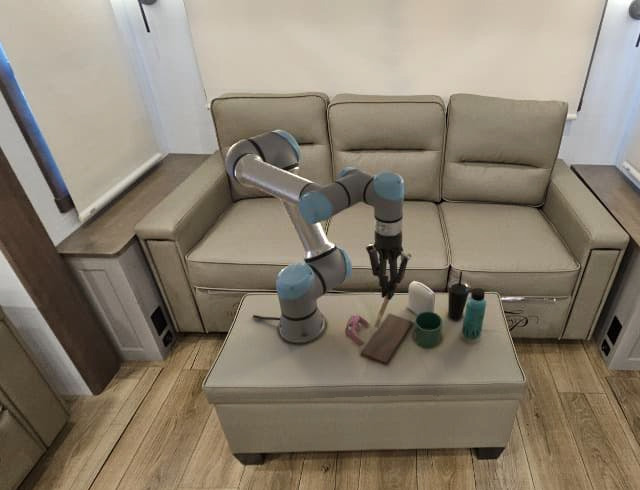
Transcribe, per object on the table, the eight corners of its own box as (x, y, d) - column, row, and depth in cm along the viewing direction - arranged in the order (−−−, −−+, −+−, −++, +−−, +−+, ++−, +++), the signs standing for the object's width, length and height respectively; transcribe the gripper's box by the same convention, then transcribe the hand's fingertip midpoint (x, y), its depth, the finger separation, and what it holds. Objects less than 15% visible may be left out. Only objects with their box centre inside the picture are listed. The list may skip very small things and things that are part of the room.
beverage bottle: (458, 339, 142) (464, 294, 130) (464, 326, 147) (471, 282, 135) (477, 346, 140) (485, 301, 128) (482, 332, 145) (491, 288, 133)
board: (361, 354, 136) (361, 352, 135) (389, 315, 151) (389, 313, 150) (386, 364, 133) (386, 362, 132) (412, 323, 148) (412, 321, 147)
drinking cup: (465, 324, 148) (472, 280, 136) (443, 321, 149) (448, 277, 137) (466, 310, 154) (473, 266, 142) (445, 306, 155) (450, 263, 143)
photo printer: (406, 308, 154) (407, 281, 147) (414, 302, 156) (415, 276, 149) (427, 322, 148) (429, 296, 141) (435, 316, 151) (437, 290, 143)
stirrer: (382, 302, 136) (372, 328, 125) (395, 270, 129) (386, 295, 118) (386, 303, 136) (377, 330, 125) (400, 272, 129) (391, 296, 118)
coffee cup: (409, 341, 141) (410, 325, 136) (420, 324, 148) (421, 308, 143) (434, 351, 138) (436, 334, 133) (444, 332, 144) (446, 316, 140)
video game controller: (359, 325, 148) (349, 311, 145) (370, 323, 147) (360, 308, 143) (350, 346, 141) (340, 331, 137) (362, 344, 139) (352, 329, 136)
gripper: (358, 229, 113) (360, 296, 127) (407, 244, 108) (404, 311, 122) (371, 216, 118) (372, 281, 132) (418, 229, 114) (414, 295, 128)
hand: (387, 295), depth 127 cm, fingers closed on stirrer
